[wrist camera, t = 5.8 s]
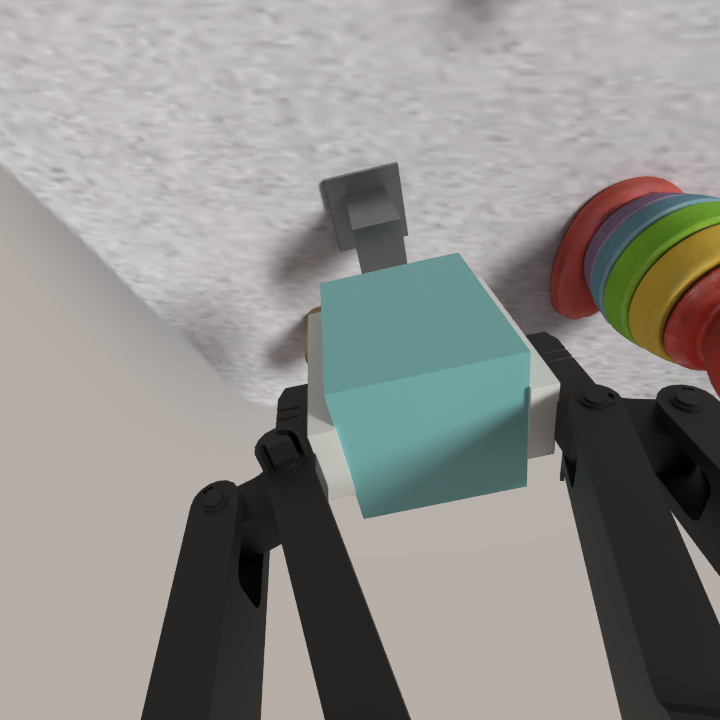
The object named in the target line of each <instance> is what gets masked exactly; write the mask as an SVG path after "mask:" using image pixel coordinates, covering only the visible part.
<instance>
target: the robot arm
mask: <svg viewBox="0 0 720 720" xmlns="http://www.w3.org/2000/svg"><path fill="white" fill-rule="evenodd" d="M476 278H477V279H478V280H479V282H480V283H481V284H482V286H483V287H484V289H485V290H486V291H487V293H488V294H489V295H490V297H491V298H492V299H493V301H494V302H495V304H496V305H497V306H498V308H499V309H500V310H501V312H502V313H503V314H504V316H505V317H506V319H507V320H508V321H509V323H510V324H511V325H512V327H513V328H514V329H515V331H516V332H517V334H518V335H519V336H520V338H521V339H522V340H523V342H524V343H525V344H526V346H527V347H528V349H529V350H530V351H531V354H530V386H529V409H528V445H527V457H528V458H529V459H530V458H535V457H540V456H545V455H550V454H554V450H555V449H554V448H555V440H556V442H557V444H558V445H559V447H560V448H561V450H562V452H563V453H562V462H561V472H560V481H564V477H565V480H566V484H567V488H568V493H569V497H570V501H571V505H572V510H573V514H574V518H575V522H576V526H577V531H578V535H579V539H580V543H581V548H582V552H583V556H584V561H585V565H586V569H587V573H588V577H589V581H590V586H591V590H592V594H593V599H594V603H595V607H596V611H597V616H598V620H599V624H600V628H601V632H602V637H603V641H604V645H605V650H606V654H607V658H608V662H609V667H610V671H611V675H612V679H613V683H614V687H615V692H616V696H617V701H618V705H619V709H620V713H621V717H622V720H720V624H719V622H718V620H717V617H716V615H715V613H714V610H713V608H712V606H711V603H710V601H709V599H708V597H707V594H706V592H705V590H704V587H703V585H702V583H701V580H700V578H699V576H698V573H697V571H696V569H695V566H694V564H693V562H692V559H691V557H690V555H689V552H688V550H687V548H686V546H685V543H684V541H683V539H682V536H681V534H680V532H679V529H678V527H677V525H676V522H675V520H674V518H673V515H672V513H673V514H674V516H675V517H676V518H677V520H678V521H679V522H680V524H681V525H682V526H683V528H684V529H685V530H686V532H687V533H688V534H689V536H690V537H691V538H692V540H693V541H694V542H695V544H696V545H697V546H698V548H699V549H700V550H701V552H702V553H703V554H704V556H705V557H706V558H707V560H708V561H709V562H710V564H711V565H712V566H713V568H714V569H715V571H716V572H717V573H718V575H719V576H720V401H718V400H717V399H716V398H715V397H714V396H713V395H711V394H710V393H708V392H706V391H705V390H702V389H699V388H697V387H694V386H688V385H670V386H667V387H665V388H662V389H661V390H660V391H659V392H658V393H657V397H656V399H628V398H621V397H620V395H619V394H618V393H617V392H615V391H614V390H612V389H611V388H608V387H605V386H602V385H597V384H595V383H594V381H593V380H592V379H591V378H590V377H589V376H588V374H587V373H586V372H585V371H584V370H583V368H582V367H581V366H580V365H579V364H578V363H577V361H576V360H575V359H574V358H572V355H571V354H570V353H569V352H568V351H567V350H565V347H564V346H563V345H562V344H561V342H560V341H559V340H558V339H557V338H555V337H553V336H551V335H549V334H548V333H546V332H540V333H535V334H531V335H526V336H525V335H524V334H523V332H522V331H521V329H520V328H519V327H518V325H517V324H516V323H515V321H514V320H513V319H512V317H511V316H510V315H509V313H508V312H507V311H506V309H505V308H504V307H503V305H502V304H501V303H500V301H499V300H498V299H497V297H496V296H495V295H494V293H493V292H492V291H491V289H490V288H489V286H488V285H487V284H486V282H485V281H484V280H483V278H482V277H481V276H480V277H476ZM277 412H278V413H277V422H276V428H275V429H273V430H271V431H269V432H267V433H265V434H264V435H263V436H262V437H261V438H260V439H259V440H258V442H257V444H256V446H255V456H256V458H257V460H258V462H259V464H260V465H261V467H262V470H263V472H262V473H261V474H260V475H258V476H257V477H255V478H254V479H252V480H250V481H248V482H246V483H243V484H242V485H240V486H236V485H235V484H234V483H233V482H230V481H227V480H224V481H217V482H214V483H211V484H209V485H208V486H206V487H205V488H203V489H202V490H201V491H200V492H199V493H198V494H197V495H196V496H195V498H194V500H193V502H192V504H191V507H190V511H189V516H188V520H187V524H186V528H185V533H184V537H183V541H182V546H181V550H180V554H179V558H178V563H177V567H176V571H175V575H174V580H173V584H172V588H171V593H170V597H169V601H168V606H167V610H166V614H165V618H164V623H163V627H162V632H161V636H160V640H159V644H158V649H157V652H156V657H155V661H154V665H153V670H152V674H151V678H150V682H149V687H148V691H147V695H146V700H145V704H144V708H143V713H142V717H141V720H261V719H260V718H261V702H262V683H263V666H264V647H265V629H266V611H267V592H268V575H269V556H270V550H271V549H273V548H275V547H277V546H279V545H280V544H282V546H283V550H284V555H285V558H286V562H287V566H288V571H289V575H290V579H291V583H292V587H293V591H294V596H295V600H296V604H297V608H298V611H299V616H300V620H301V624H302V628H303V632H304V636H305V640H306V645H307V648H308V652H309V657H310V661H311V665H312V669H313V673H314V677H315V681H316V685H317V689H318V694H319V698H320V701H321V706H322V710H323V714H324V718H325V720H411V718H410V716H409V713H408V710H407V708H406V705H405V702H404V700H403V698H402V694H401V692H400V689H399V687H398V684H397V681H396V679H395V676H394V674H393V671H392V668H391V666H390V663H389V660H388V658H387V655H386V652H385V650H384V647H383V645H382V642H381V639H380V637H379V634H378V632H377V629H376V626H375V624H374V621H373V618H372V616H371V613H370V611H369V608H368V605H367V602H366V600H365V597H364V595H363V593H362V589H361V587H360V584H359V581H358V579H357V576H356V574H355V571H354V569H353V566H352V563H351V560H350V558H349V555H348V552H347V550H346V547H345V545H344V542H343V539H342V537H341V534H340V532H339V529H338V526H337V524H336V521H335V518H334V516H333V513H332V510H331V508H330V505H329V502H328V492H329V494H330V497H331V499H335V498H339V497H345V496H350V495H355V494H356V490H355V487H354V484H353V481H352V478H351V475H350V471H349V468H348V465H347V462H346V459H345V456H344V453H343V450H342V447H341V443H340V440H339V437H338V434H337V431H336V428H335V427H334V425H333V422H332V419H331V416H330V413H329V410H328V407H327V404H326V400H325V397H324V384H323V352H322V320H321V312H318V313H313V314H309V315H308V384H304V385H299V386H295V387H290V388H286V389H284V391H283V393H282V394H281V396H280V398H279V399H278V408H277ZM670 510H671V511H670ZM671 512H672V513H671Z"/></svg>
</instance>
